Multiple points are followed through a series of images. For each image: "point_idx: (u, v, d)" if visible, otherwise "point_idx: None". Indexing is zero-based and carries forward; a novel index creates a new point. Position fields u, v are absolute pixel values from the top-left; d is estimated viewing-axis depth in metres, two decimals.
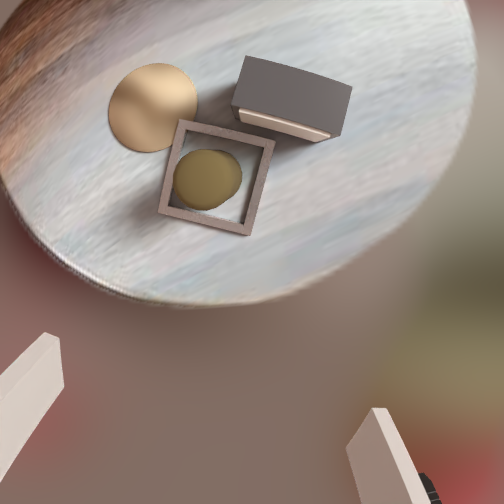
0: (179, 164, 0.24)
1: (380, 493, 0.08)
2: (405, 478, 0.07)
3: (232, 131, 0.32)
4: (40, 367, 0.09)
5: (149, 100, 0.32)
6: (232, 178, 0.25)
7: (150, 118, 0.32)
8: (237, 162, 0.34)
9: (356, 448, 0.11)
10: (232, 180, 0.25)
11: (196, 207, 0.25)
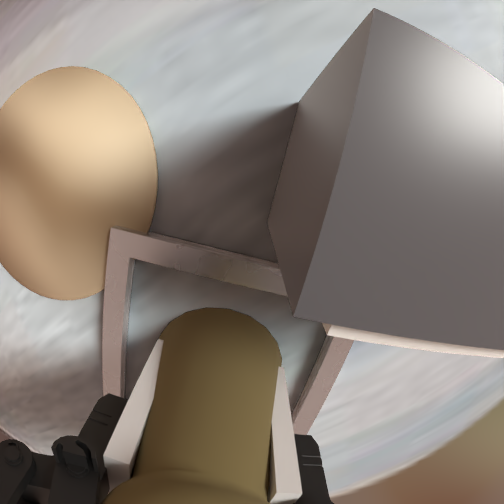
0: None
1: None
2: (276, 431, 0.09)
3: (260, 268, 0.12)
4: None
5: (42, 170, 0.11)
6: None
7: (48, 217, 0.12)
8: (272, 341, 0.13)
9: None
10: None
11: None
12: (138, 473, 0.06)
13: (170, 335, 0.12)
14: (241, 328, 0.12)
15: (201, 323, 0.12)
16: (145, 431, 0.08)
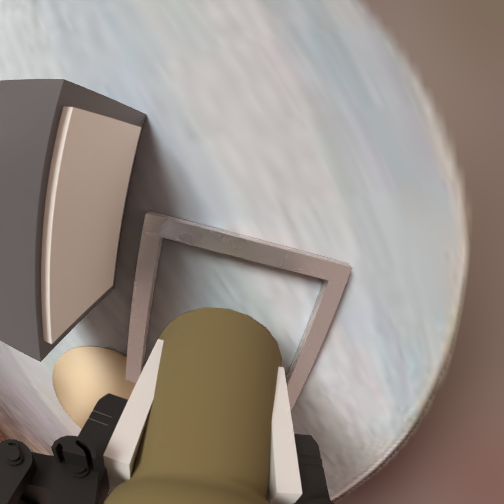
0: None
1: None
2: (276, 431, 0.09)
3: (134, 299, 0.16)
4: None
5: None
6: None
7: None
8: (272, 340, 0.13)
9: None
10: None
11: None
12: (138, 473, 0.06)
13: (170, 335, 0.12)
14: (241, 328, 0.12)
15: (201, 323, 0.12)
16: (145, 431, 0.08)
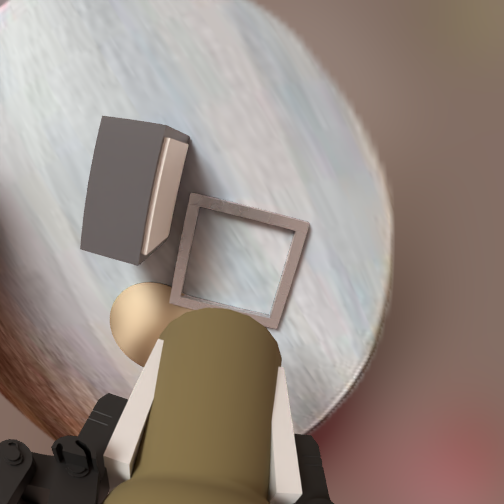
0: None
1: None
2: (276, 431, 0.09)
3: (181, 244, 0.28)
4: None
5: (150, 332, 0.32)
6: None
7: None
8: (272, 340, 0.13)
9: None
10: None
11: None
12: (138, 473, 0.06)
13: (170, 335, 0.12)
14: (241, 328, 0.12)
15: (201, 323, 0.12)
16: (145, 431, 0.08)
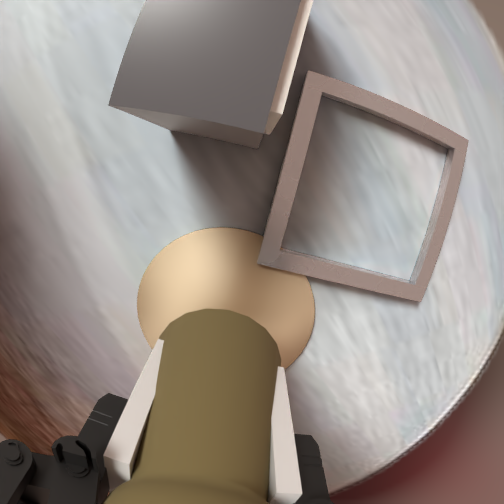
0: None
1: None
2: (276, 431, 0.09)
3: (289, 153, 0.16)
4: None
5: None
6: None
7: None
8: (271, 341, 0.13)
9: None
10: None
11: None
12: (138, 474, 0.06)
13: (170, 336, 0.12)
14: (241, 329, 0.12)
15: (201, 324, 0.12)
16: (145, 432, 0.08)
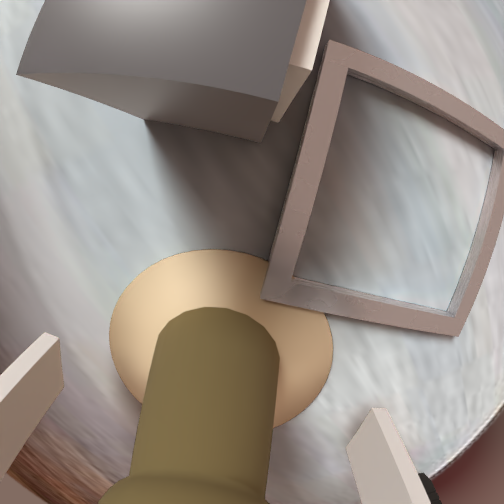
0: None
1: (380, 493, 0.08)
2: (405, 478, 0.07)
3: (305, 149, 0.11)
4: (40, 367, 0.09)
5: None
6: None
7: None
8: (270, 339, 0.13)
9: (356, 448, 0.11)
10: None
11: None
12: (136, 471, 0.06)
13: (168, 334, 0.12)
14: (239, 327, 0.12)
15: (199, 322, 0.12)
16: (143, 429, 0.08)
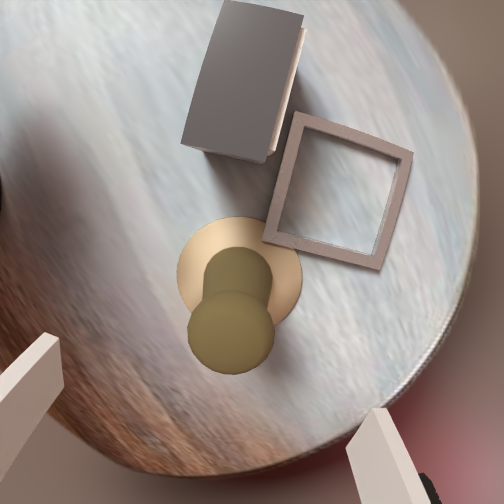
0: (196, 322, 0.17)
1: (380, 493, 0.08)
2: (405, 478, 0.07)
3: (282, 167, 0.24)
4: (40, 367, 0.09)
5: None
6: (273, 336, 0.18)
7: None
8: (267, 264, 0.26)
9: (356, 448, 0.11)
10: (273, 338, 0.18)
11: (224, 373, 0.18)
12: None
13: (215, 259, 0.26)
14: (251, 254, 0.26)
15: (231, 252, 0.25)
16: (209, 289, 0.21)
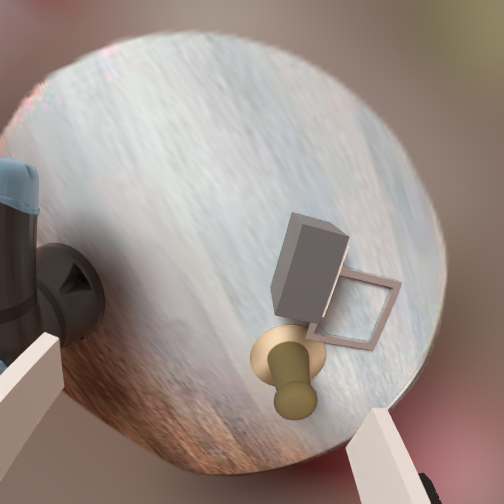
0: (282, 399, 0.33)
1: (380, 493, 0.08)
2: (405, 478, 0.07)
3: None
4: (40, 367, 0.09)
5: None
6: None
7: None
8: (306, 350, 0.42)
9: (356, 448, 0.11)
10: (316, 403, 0.34)
11: (291, 419, 0.34)
12: (283, 384, 0.35)
13: (277, 350, 0.41)
14: (298, 347, 0.41)
15: (287, 346, 0.41)
16: (281, 375, 0.37)
